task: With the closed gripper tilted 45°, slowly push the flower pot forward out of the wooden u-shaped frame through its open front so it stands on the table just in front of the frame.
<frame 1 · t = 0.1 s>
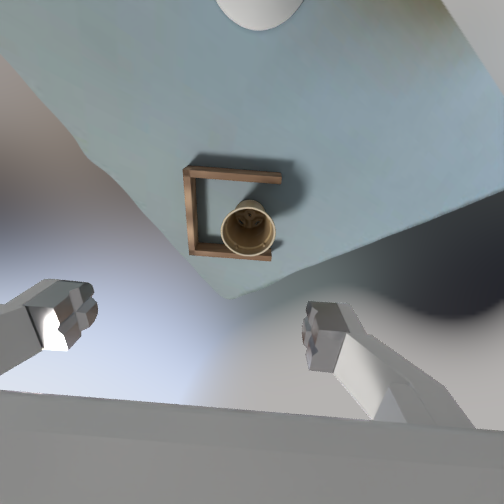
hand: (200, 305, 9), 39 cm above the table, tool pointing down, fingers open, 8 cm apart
flower pot: (250, 213, 49), on the table
wooden u-shaped frame: (233, 212, 49), on the table
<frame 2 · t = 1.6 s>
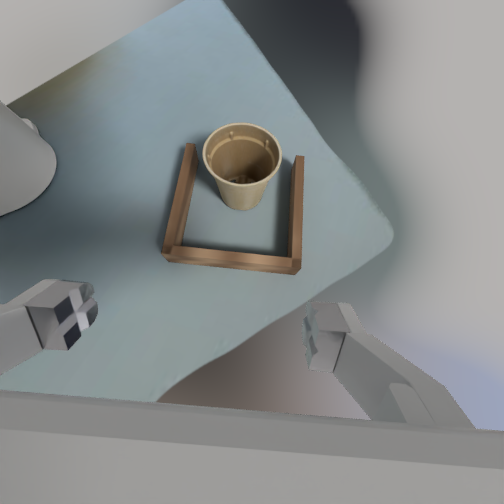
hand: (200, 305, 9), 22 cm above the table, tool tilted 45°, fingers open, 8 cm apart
flower pot: (241, 193, 37), on the table
wooden u-shaped frame: (239, 213, 36), on the table
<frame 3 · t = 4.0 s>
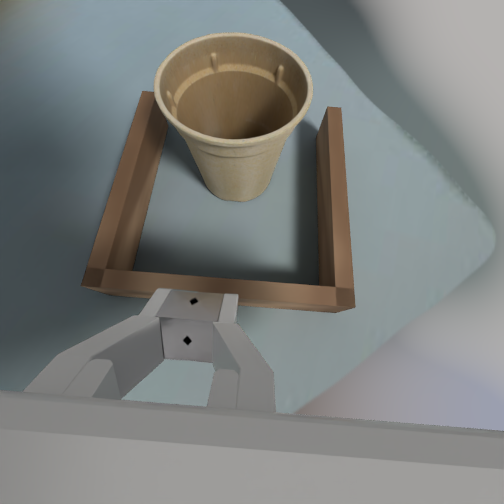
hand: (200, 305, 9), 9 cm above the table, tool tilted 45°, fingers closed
flower pot: (237, 175, 23), on the table
wooden u-shaped frame: (233, 206, 21), on the table
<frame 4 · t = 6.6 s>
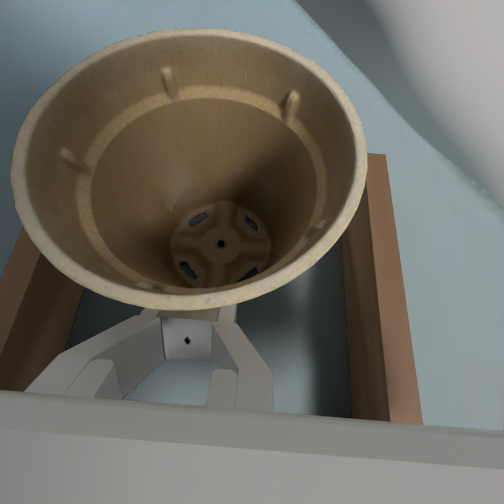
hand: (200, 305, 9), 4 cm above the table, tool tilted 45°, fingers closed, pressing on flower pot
flower pot: (222, 247, 15), on the table, touching gripper
wooden u-shaped frame: (213, 310, 13), on the table
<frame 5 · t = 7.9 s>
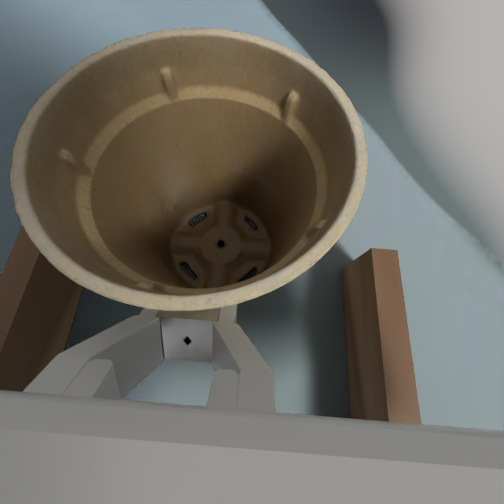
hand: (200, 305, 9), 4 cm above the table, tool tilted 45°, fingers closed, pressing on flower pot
flower pot: (222, 247, 15), on the table, touching gripper
wooden u-shaped frame: (198, 426, 12), on the table
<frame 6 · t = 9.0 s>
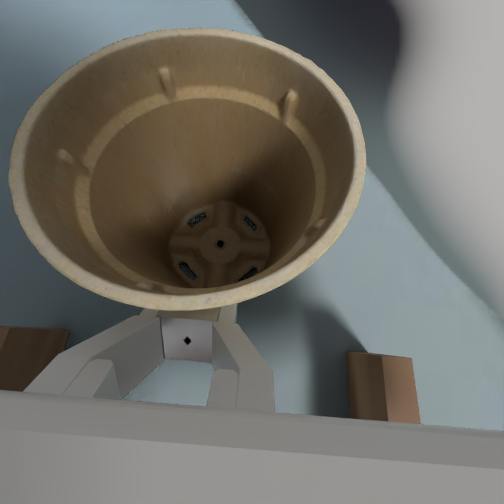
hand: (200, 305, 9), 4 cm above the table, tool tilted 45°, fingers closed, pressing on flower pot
flower pot: (222, 247, 15), on the table, touching gripper
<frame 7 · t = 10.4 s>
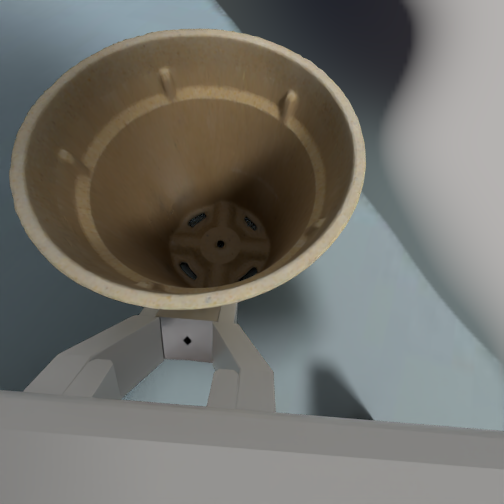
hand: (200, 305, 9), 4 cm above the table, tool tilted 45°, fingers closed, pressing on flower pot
flower pot: (222, 247, 15), on the table, touching gripper
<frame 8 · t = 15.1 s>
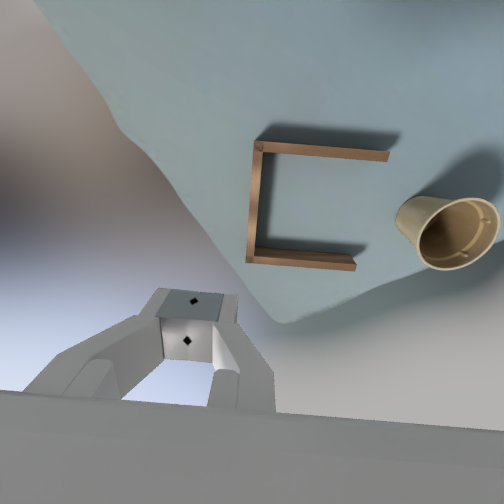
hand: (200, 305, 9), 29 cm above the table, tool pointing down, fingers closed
flower pot: (415, 215, 37), on the table
wooden u-shaped frame: (305, 206, 37), on the table
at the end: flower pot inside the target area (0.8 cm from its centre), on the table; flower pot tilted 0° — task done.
